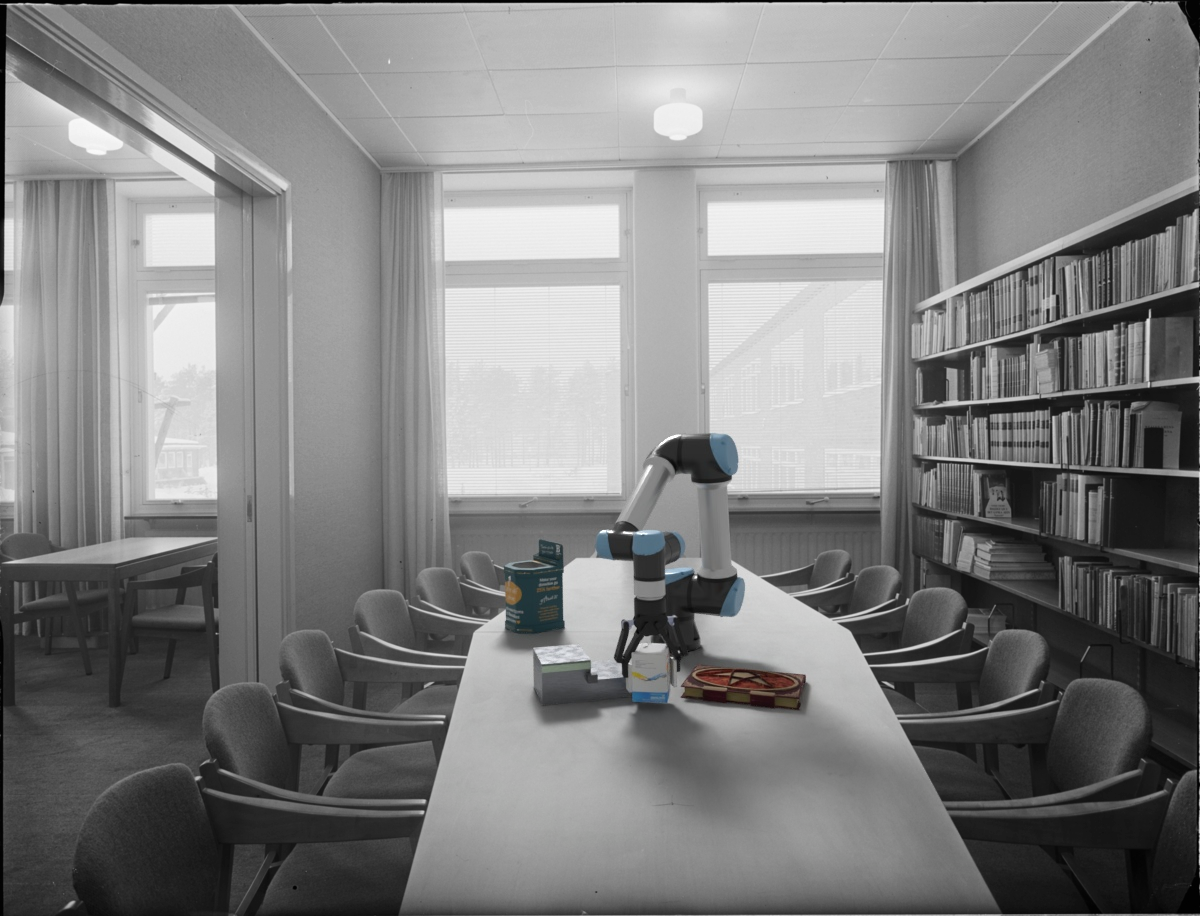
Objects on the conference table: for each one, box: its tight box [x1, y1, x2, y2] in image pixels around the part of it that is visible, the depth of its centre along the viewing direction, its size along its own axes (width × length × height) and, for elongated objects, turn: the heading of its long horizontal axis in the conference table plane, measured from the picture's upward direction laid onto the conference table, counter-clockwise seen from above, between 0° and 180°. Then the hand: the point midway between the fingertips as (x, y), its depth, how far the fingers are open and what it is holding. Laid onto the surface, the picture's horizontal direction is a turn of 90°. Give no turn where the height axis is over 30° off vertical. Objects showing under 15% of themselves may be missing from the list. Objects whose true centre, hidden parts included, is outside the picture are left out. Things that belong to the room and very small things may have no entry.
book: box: [680, 664, 807, 711], centre depth 187 cm, size 28×21×5 cm
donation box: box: [503, 538, 566, 635], centre depth 250 cm, size 16×16×28 cm
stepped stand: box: [532, 643, 632, 707], centre depth 187 cm, size 24×16×10 cm
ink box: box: [631, 642, 671, 704], centre depth 178 cm, size 9×8×12 cm
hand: (651, 687), depth 178 cm, fingers closed on ink box, 10 cm apart
